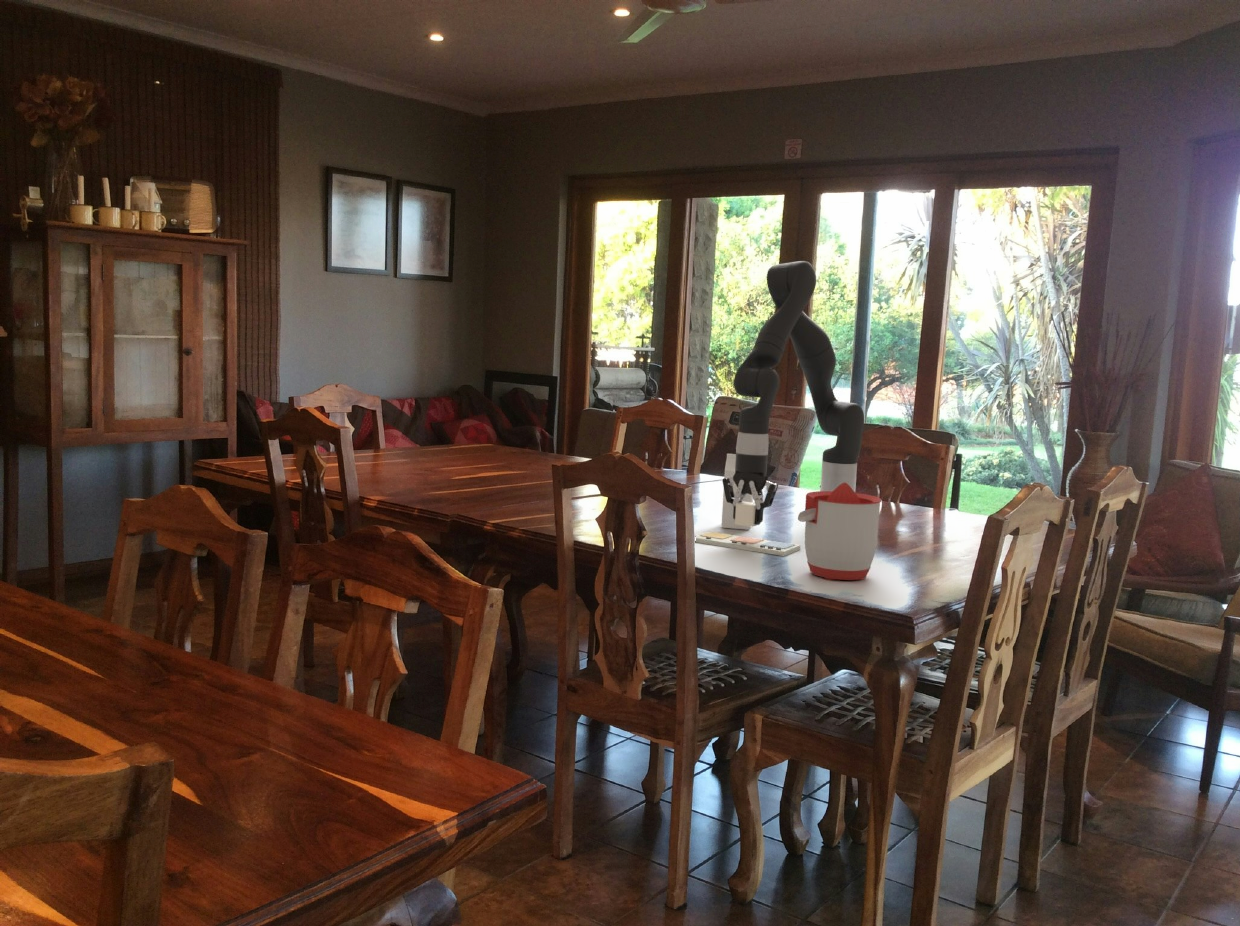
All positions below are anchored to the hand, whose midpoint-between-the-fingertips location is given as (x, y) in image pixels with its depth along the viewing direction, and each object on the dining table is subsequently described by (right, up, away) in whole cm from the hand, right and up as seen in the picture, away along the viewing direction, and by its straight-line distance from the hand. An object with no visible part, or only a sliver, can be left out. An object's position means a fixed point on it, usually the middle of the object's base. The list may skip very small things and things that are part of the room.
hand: (747, 522), depth 255 cm
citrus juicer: (+15, -10, -28) cm, 33 cm away
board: (-1, -5, 0) cm, 5 cm away
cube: (0, 0, 0) cm, 0 cm away
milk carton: (0, -3, +24) cm, 24 cm away
